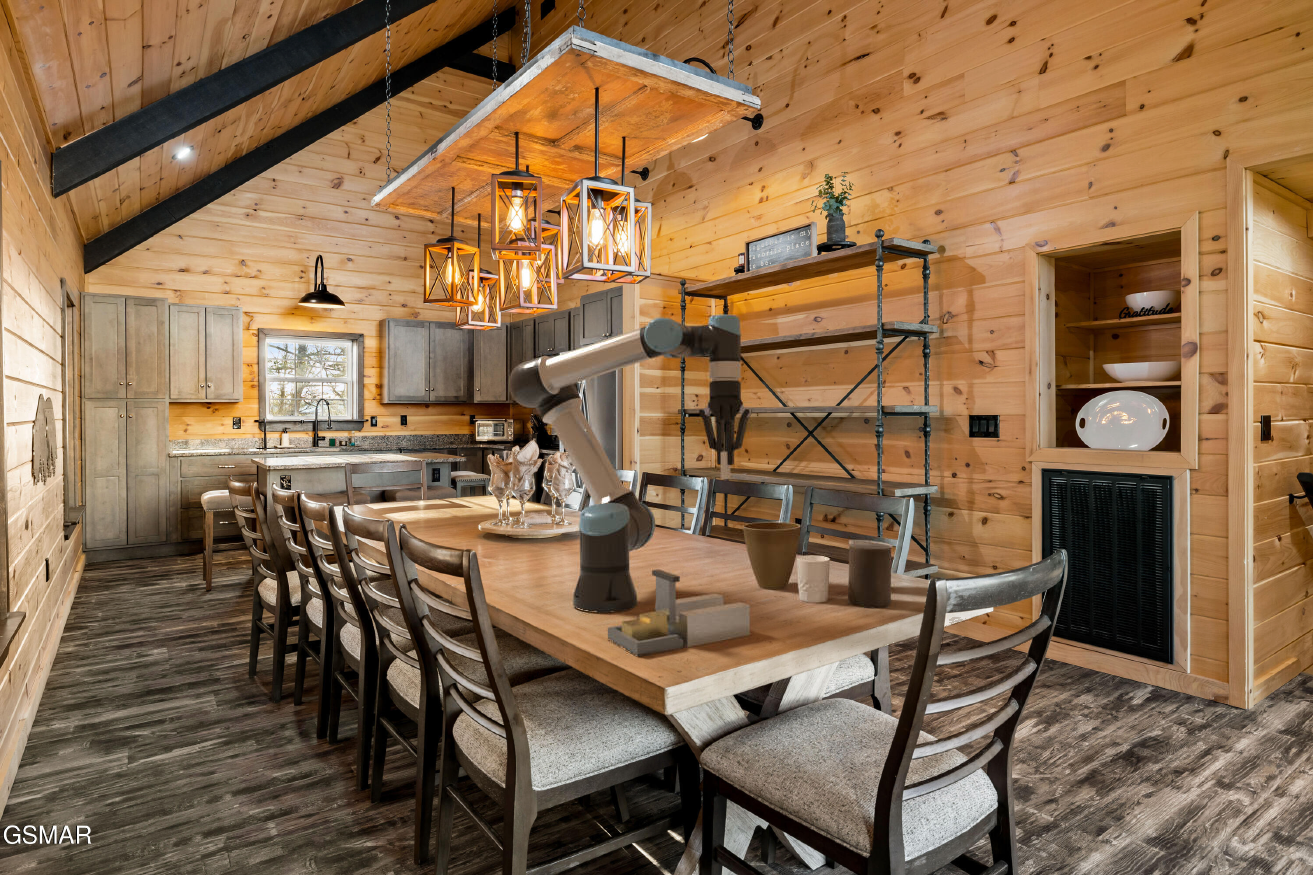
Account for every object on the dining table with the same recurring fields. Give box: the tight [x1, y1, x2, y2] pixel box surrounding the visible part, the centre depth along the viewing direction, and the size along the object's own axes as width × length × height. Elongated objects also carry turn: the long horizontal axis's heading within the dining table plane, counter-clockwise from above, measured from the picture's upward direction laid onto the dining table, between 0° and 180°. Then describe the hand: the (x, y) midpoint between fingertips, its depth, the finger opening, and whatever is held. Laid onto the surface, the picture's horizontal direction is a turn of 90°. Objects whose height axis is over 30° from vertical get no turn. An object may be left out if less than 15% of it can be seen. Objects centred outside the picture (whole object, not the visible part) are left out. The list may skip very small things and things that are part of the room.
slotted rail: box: [668, 593, 751, 648], centre depth 148 cm, size 15×12×6 cm
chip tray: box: [607, 624, 684, 657], centre depth 141 cm, size 10×12×2 cm
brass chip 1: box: [621, 618, 650, 641], centre depth 140 cm, size 4×4×4 cm
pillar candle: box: [847, 539, 892, 608], centre depth 172 cm, size 10×10×15 cm
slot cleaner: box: [651, 568, 681, 622], centre depth 144 cm, size 2×8×9 cm, turn 31°
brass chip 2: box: [639, 610, 668, 639], centre depth 142 cm, size 4×4×4 cm
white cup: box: [795, 554, 831, 604], centre depth 175 cm, size 8×8×10 cm
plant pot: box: [742, 521, 801, 590], centre depth 190 cm, size 15×15×16 cm
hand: (725, 478), depth 174 cm, fingers closed
